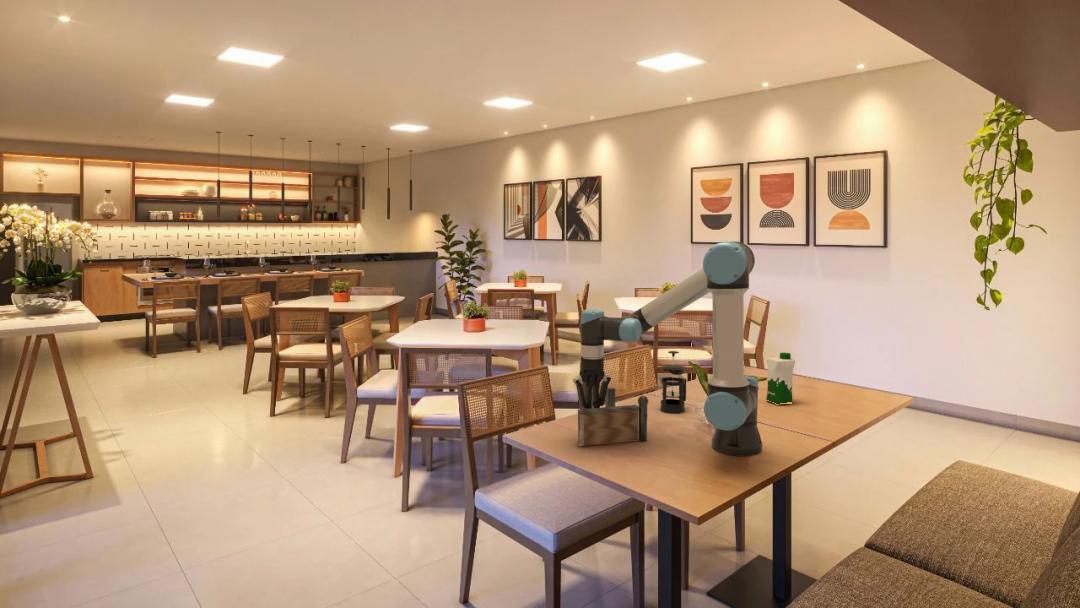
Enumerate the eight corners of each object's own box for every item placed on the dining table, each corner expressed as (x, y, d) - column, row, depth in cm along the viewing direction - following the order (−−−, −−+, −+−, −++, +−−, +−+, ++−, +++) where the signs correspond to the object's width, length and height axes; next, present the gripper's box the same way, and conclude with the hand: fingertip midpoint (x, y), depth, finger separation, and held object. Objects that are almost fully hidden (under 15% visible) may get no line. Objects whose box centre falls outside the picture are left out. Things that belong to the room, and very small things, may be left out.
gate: (635, 438, 204) (635, 404, 203) (638, 440, 202) (638, 406, 201) (577, 443, 199) (577, 409, 198) (580, 446, 197) (580, 411, 195)
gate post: (649, 441, 202) (650, 396, 201) (640, 442, 201) (641, 397, 200) (644, 438, 206) (645, 394, 204) (635, 439, 205) (635, 395, 203)
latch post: (615, 420, 226) (615, 388, 224) (607, 421, 225) (607, 389, 223) (612, 419, 227) (612, 387, 226) (605, 420, 226) (605, 388, 225)
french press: (671, 415, 232) (672, 354, 230) (653, 409, 240) (654, 351, 238) (693, 410, 239) (694, 351, 236) (675, 405, 247) (676, 347, 244)
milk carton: (796, 404, 246) (797, 355, 244) (776, 406, 243) (778, 356, 241) (781, 399, 254) (782, 351, 252) (762, 401, 252) (764, 352, 250)
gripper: (605, 353, 208) (604, 422, 211) (569, 356, 204) (569, 426, 206) (615, 357, 201) (615, 428, 204) (578, 360, 197) (578, 433, 199)
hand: (592, 427), depth 205 cm, fingers closed
